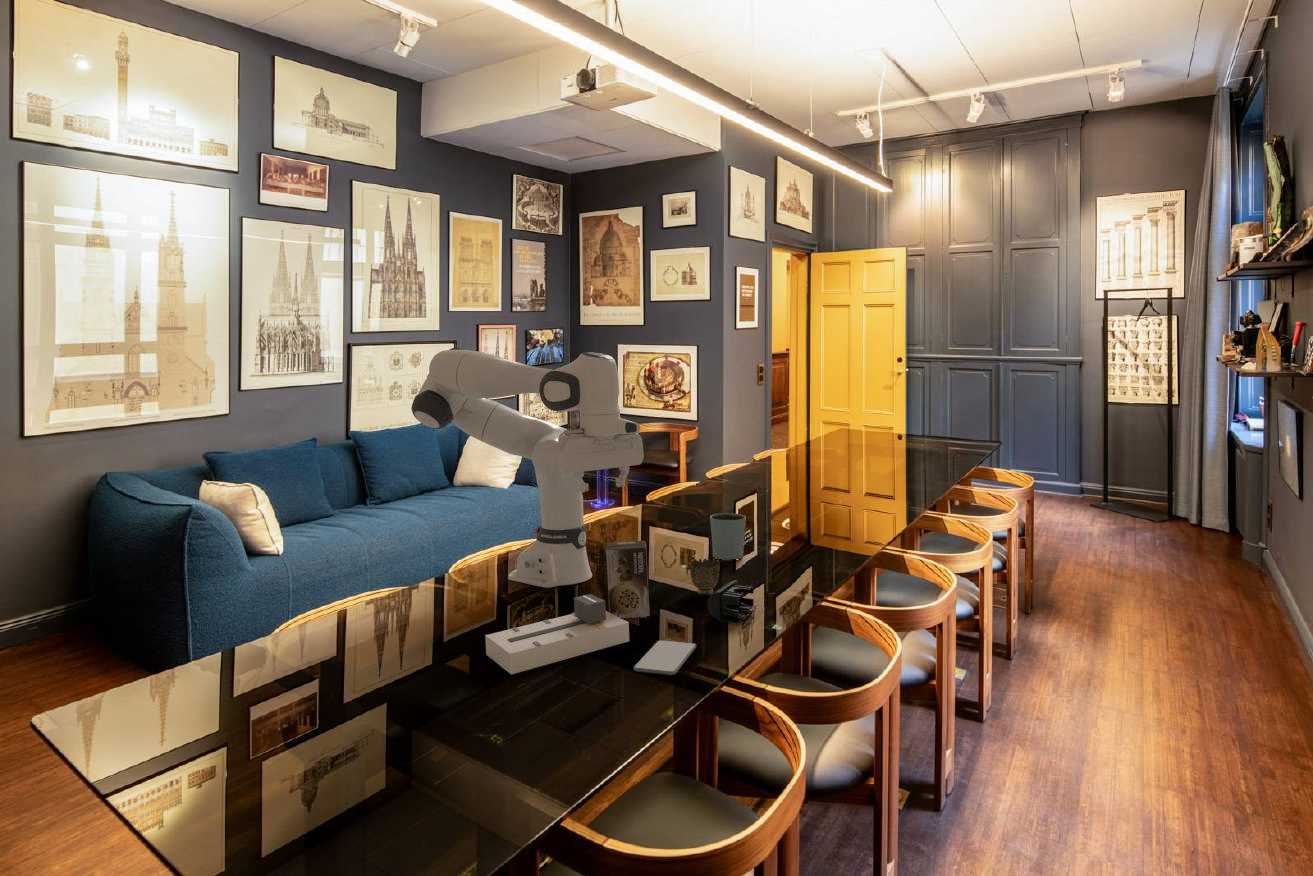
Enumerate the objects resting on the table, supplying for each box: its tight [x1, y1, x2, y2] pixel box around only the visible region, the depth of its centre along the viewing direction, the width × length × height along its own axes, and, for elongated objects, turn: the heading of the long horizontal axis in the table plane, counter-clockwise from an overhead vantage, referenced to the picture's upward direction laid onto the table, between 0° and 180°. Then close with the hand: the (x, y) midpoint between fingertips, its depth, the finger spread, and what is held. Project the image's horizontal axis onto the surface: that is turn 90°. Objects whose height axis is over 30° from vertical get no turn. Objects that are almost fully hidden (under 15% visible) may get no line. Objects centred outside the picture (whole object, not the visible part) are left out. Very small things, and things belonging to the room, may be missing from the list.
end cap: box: [707, 579, 755, 624], centre depth 169 cm, size 10×7×7 cm
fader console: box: [484, 610, 630, 675], centre depth 153 cm, size 26×12×4 cm, turn 124°
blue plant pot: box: [709, 512, 747, 560], centre depth 216 cm, size 10×10×12 cm
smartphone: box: [633, 640, 697, 676], centre depth 147 cm, size 8×1×15 cm
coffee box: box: [605, 540, 650, 619], centre depth 171 cm, size 9×6×16 cm
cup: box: [689, 558, 721, 596], centre depth 184 cm, size 8×7×8 cm
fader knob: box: [573, 593, 607, 624], centre depth 157 cm, size 4×6×4 cm, turn 34°
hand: (602, 489), depth 168 cm, fingers open, 8 cm apart
